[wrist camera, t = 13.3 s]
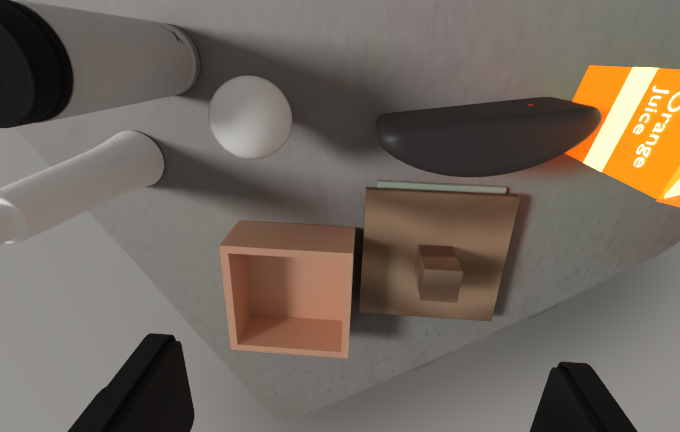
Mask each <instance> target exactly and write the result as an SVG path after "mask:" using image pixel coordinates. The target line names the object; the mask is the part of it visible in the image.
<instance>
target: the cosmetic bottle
mask: <svg viewBox="0 0 680 432" xmlns="http://www.w3.org/2000/svg"><path fill="white" fill-rule="evenodd" d="M163 171H164V159H163V155H162V153H161V151H160V149H159V148H158V146H157V145H156V144H155V143H154V141H153V140H151V139H150V138H149V137H147V136H146V135H144V134H142V133H139V132H136V131H123V132H120V133H118V134H116V135H115V136H113V137H112V138H111V139H109V140H107V141H106V142H104V143H102V144H101V145H99V146H97V147H95V148H93V149H91V150H89V151H87V152H85V153H82V154H80V155H78V156H76V157H74V158H71V159H69V160H66V161H64V162H62V163H59V164H57V165H55V166H52V167H50V168H47V169H45V170H43V171H40V172H38V173H35V174H33V175H31V176H28V177H26V178H23V179H21V180H19V181H16V182H14V183H12V184H9V185H7V186H5V187H2V188H0V245H1V244H3V243H6V244H15V243H19V242H21V241H23V240H26V239H28V238H30V237H32V236H34V235H37V234H39V233H41V232H43V231H45V230H47V229H50V228H52V227H54V226H56V225H58V224H60V223H62V222H65V221H67V220H69V219H71V218H73V217H75V216H77V215H79V214H81V213H83V212H85V211H87V210H89V209H92V208H94V207H96V206H98V205H100V204H102V203H104V202H106V201H109V200H111V199H113V198H115V197H118V196H120V195H123V194H125V193H128V192H130V191H133V190H136V189H140V188H143V187H147V186H151V185H153V184H155V183H156V182H157V181H158V180H159V179H160V178H161V176H162V174H163Z"/></svg>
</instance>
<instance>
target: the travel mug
mask: <svg viewBox="0 0 680 432" xmlns="http://www.w3.org/2000/svg"><path fill="white" fill-rule="evenodd" d="M199 73H200V59H199V55H198V51H197V49H196V47H195V45H194V43H193V42H192V40H191V39H190V37H189V36H188V35H187V34H186V33H185V32H183V31H182V30H181V29H179V28H177V27H175V26H173V25H170V24H166V23H160V22H154V21H147V20H141V19H135V18H129V17H122V16H116V15H110V14H104V13H97V12H91V11H85V10H79V9H73V8H66V7H60V6H54V5H48V4H41V3H35V2H29V1H23V0H0V128H10V127H16V126H21V125H26V124H31V123H41V122H46V121H51V120H56V119H61V118H66V117H71V116H76V115H81V114H86V113H90V112H95V111H100V110H105V109H110V108H115V107H120V106H125V105H130V104H135V103H139V102H144V101H149V100H154V99H159V98H164V97H169V96H174V95H179V94H183V93H185V92H187V91H188V90H190V89H191V88H192V87H193V86H194V84H195V83H196V81H197V79H198V77H199Z"/></svg>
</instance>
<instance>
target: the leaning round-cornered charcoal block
mask: <svg viewBox="0 0 680 432" xmlns="http://www.w3.org/2000/svg"><path fill="white" fill-rule="evenodd" d="M601 120H602V115H601V112H600V111H599V110H598V109H597V108H596V107H593V106H589V105H584V104H580V103H575V102H571V101H566V100H562V99H557V98H553V97H539V98H529V99H519V100H510V101H500V102H490V103H481V104H471V105H462V106H452V107H443V108H433V109H423V110H414V111H404V112H395V113H388V114H383V115H381V116H380V117H379V118H378V119H377V121H376V128H377V137H378V142H379V144H380V145H381V146H382V148H383V149H385V150H386V151H387V152H388V153H389V154H390V155H392V156H393V157H395V158H396V159H398V160H400V161H402V162H404V163H406V164H408V165H410V166H413V167H415V168H418V169H421V170H424V171H428V172H432V173H436V174H441V175H447V176H456V177H485V176H495V175H502V174H507V173H512V172H516V171H520V170H524V169H527V168H530V167H533V166H537V165H539V164H542V163H544V162H547V161H549V160H551V159H554V158H556V157H558V156H560V155H562V154H564V153H565V152H567V151H569V150H571V149H572V148H574V147H576V146H577V145H579V144H580V143H582V142H583V141H585V140H586V139H587V138H588V137H589V136H591V135H592V134H593V133H594V131H595V130H596V129H597V128H598V126H599V125H600V123H601Z"/></svg>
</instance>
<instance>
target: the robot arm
mask: <svg viewBox="0 0 680 432" xmlns="http://www.w3.org/2000/svg"><path fill="white" fill-rule="evenodd" d="M193 421H194V408H193V403H192V398H191V392H190V387H189V382H188V377H187V372H186V366H185V361H184V356H183V351H182V345H181V343H180V341H176V340H175V337H174V336H173V335H167V334H148V335H147V336H146V337H145V338H144V339H143V341H142V342H141V343H140V345H139V346H138V347H137V348H136V350H135V351H134V352H133V353H132V355H131V356H130V357H129V359H128V360H127V361H126V362H125V364H124V365H123V366H122V368H121V369H120V370H119V371H118V373H117V374H116V375H115V377H114V378H113V379H112V380H111V382H110V383H109V384H108V386H107V387H105V388H104V389H102V390H101V391H100V392H99V393H98V394H97V395H96V396H95V398H94V399H93V400H92V401H91V403H90V404H89V405H88V406H87V408H86V409H85V410H84V412H83V413H82V414H81V415H80V417H79V418H78V419H77V420H76V422H75V423H74V424H73V426H72V427H71V428H70V429H69V431H68V432H190V430H191V428H192V425H193ZM530 432H637V430H636V429H635V427H634V426H633V425H632V423H631V422H630V420H629V419H628V417H627V416H626V415H625V413H624V412H623V410H622V409H621V408H620V406H619V405H618V403H617V402H616V401H615V399H614V398H613V396H612V395H611V394H610V392H609V391H608V389H607V388H606V386H605V385H604V384H603V382H602V381H601V380H600V378H599V377H598V375H597V374H596V372H595V371H594V370H593V369H592V367H591V366H590V365H588V364H587V363H573V362H560V363H559V364H558V366H557V368H555V367H554V368H552V369H551V371H550V374H549V377H548V380H547V383H546V386H545V389H544V391H543V394H542V397H541V400H540V403H539V406H538V409H537V412H536V415H535V418H534V421H533V424H532V427H531V430H530Z"/></svg>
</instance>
